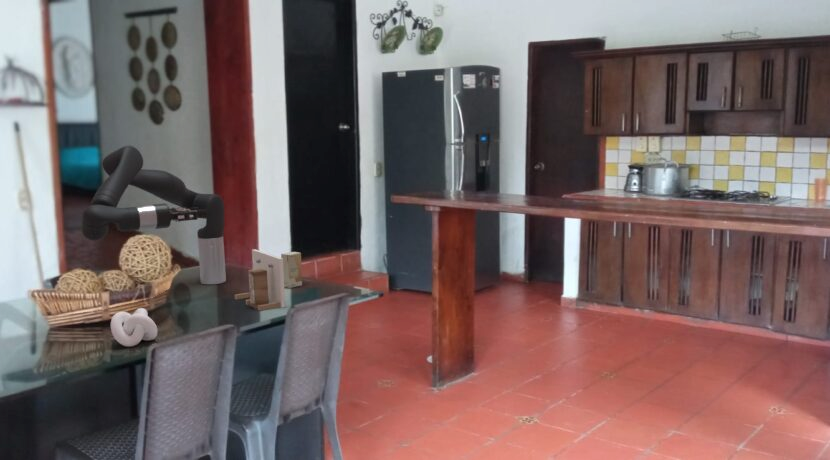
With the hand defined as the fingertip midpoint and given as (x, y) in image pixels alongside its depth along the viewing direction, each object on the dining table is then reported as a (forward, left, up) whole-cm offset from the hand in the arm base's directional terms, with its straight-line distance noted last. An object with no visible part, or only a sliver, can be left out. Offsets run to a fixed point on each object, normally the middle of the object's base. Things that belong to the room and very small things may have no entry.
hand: (203, 211), depth 243 cm
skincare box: (-14, +36, -32) cm, 50 cm away
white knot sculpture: (+20, -29, -32) cm, 48 cm away
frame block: (+6, +14, -32) cm, 36 cm away
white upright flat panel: (+1, +16, -32) cm, 36 cm away
